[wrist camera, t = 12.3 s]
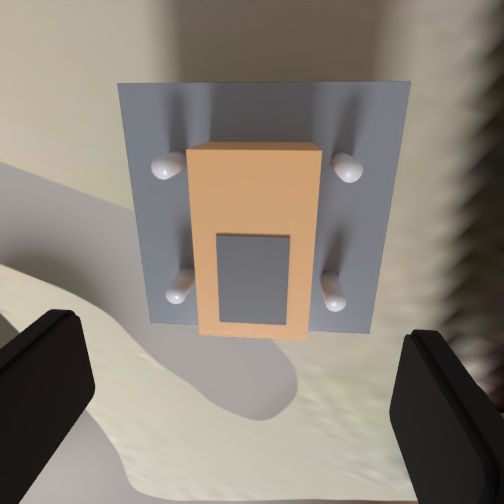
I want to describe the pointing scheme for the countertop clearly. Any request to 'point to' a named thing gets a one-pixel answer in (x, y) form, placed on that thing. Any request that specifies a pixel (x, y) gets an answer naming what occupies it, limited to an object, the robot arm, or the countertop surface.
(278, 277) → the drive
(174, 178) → the pin tray
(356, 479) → the countertop surface
